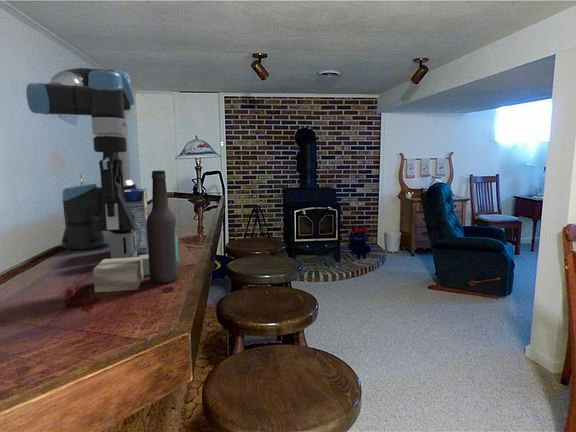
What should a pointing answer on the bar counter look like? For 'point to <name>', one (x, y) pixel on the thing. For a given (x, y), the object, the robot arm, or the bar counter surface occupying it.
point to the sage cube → (145, 264)
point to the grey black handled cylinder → (124, 243)
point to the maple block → (118, 274)
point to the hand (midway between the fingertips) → (116, 226)
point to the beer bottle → (161, 234)
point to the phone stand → (124, 212)
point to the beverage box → (139, 215)
